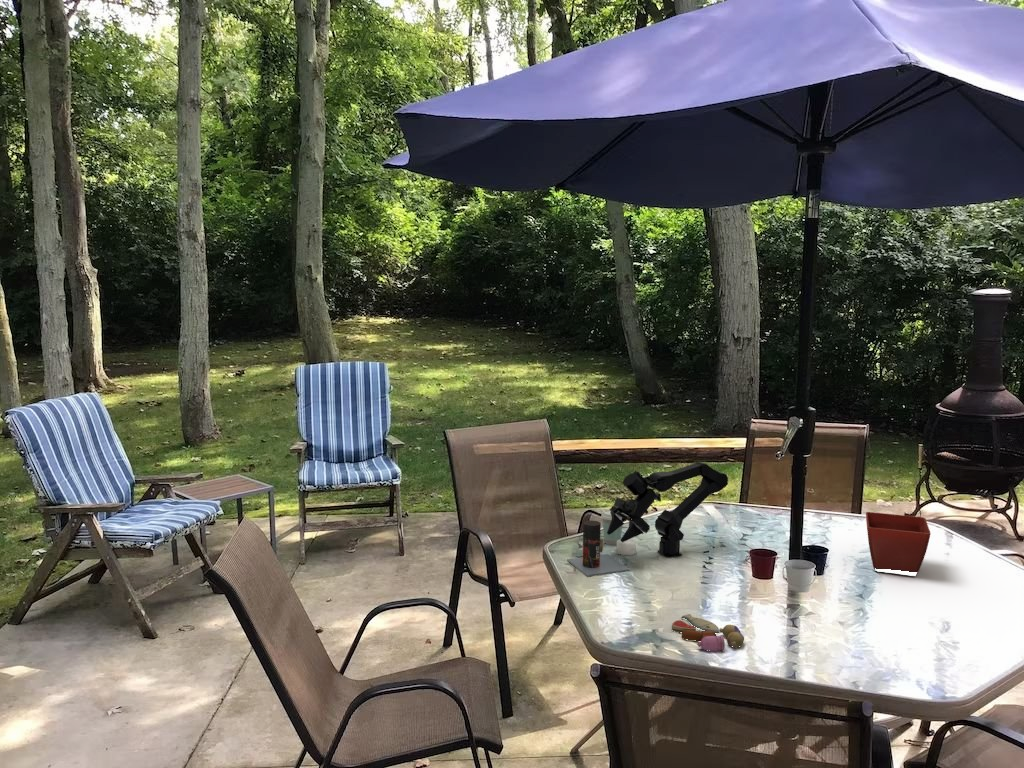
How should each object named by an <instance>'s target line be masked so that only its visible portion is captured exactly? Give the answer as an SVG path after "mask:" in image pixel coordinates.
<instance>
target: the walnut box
mask: <svg viewBox="0 0 1024 768" xmlns="http://www.w3.org/2000/svg"><path fill="white" fill-rule="evenodd" d="M603 545H604V538H601V537H600V553H603V552H604V551H603V549H604V548H603V547H604V546H603ZM602 551H603V552H602Z"/></svg>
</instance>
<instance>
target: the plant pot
mask: <svg viewBox="0 0 1024 768" xmlns="http://www.w3.org/2000/svg"><path fill="white" fill-rule="evenodd" d="M865 521H866V522H865V523H866V531H867V539H868V547H869V548H868V549H869V553H870V557H871V559H870V560H871V563H872V567H873V569H874V568H876V569H891V570H901V571H909V572H918V573H919V571H920V569H921V567H922V564H923V562H924V560H925V557H926V554H927V550H928V546H929V543H930V537H931V531H930V528H929V525H928V522H927V518H926V517H922V516H913V515H903V514H892V513H883V512H875V511H874V512H870V511H866V512H865Z"/></svg>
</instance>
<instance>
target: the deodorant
mask: <svg viewBox="0 0 1024 768" xmlns="http://www.w3.org/2000/svg"><path fill="white" fill-rule="evenodd" d="M582 524H583V526H582V557H583V566H584V567H587V568H597V567H599V566H600V555H601V552H600V538H601V521H597V520H592V519H591V520H585V521H583V522H582Z"/></svg>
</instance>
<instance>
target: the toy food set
mask: <svg viewBox="0 0 1024 768" xmlns="http://www.w3.org/2000/svg"><path fill="white" fill-rule="evenodd" d="M681 618H685V619H687V620H688V621H689V622H690V623H691V624H692V625H693V626H691V625H690V624H689V623H688V621H687V620H686V622H685V621H684V620H682V619H681ZM681 618H680V619H678V620H675V621H673V623H672V624H671V631H672V630H673V631H672V632H674V631H676V632H675V633H677V632H682V633H681V638H682V639H683V638H684V639H688V640H696V641H701V642H697V646H698V647H701V648H702V650H703V649H704V650H703V651H705V650H708V651H707V652H724V651H725V649H726V648H725V647H726V645H725V639H726V643H727V644H728V646H729V645H731V646H733V647H739V646H741V647H742V645H743V644H744V641H745V636H744V635H743V634H742V632H741V630H740V629H739V628H738V627H737V625H735V624H727V625H726V624H725V626H724V627H723V628H722V627H720V628H719V627H718V625H716V624H715V623H714V622H711V621H709V620H707V619H704V618H701V617H699V618H698V617H694V616H693V615H692V614H691V613H688V614H683V615H682V616H681ZM694 626H695V627H694ZM696 627H697V628H700V629H702V630H705V631H700V630H697V629H696ZM715 633H719V634H720V633H721V634H722V635H717V634H715ZM725 637H726V638H725ZM684 639H683V640H684ZM696 641H695V642H696ZM731 646H730V647H731ZM733 647H732V648H733ZM709 650H710V651H709ZM715 650H716V651H715ZM718 650H719V651H718ZM720 650H722V651H720ZM723 650H724V651H723Z"/></svg>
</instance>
